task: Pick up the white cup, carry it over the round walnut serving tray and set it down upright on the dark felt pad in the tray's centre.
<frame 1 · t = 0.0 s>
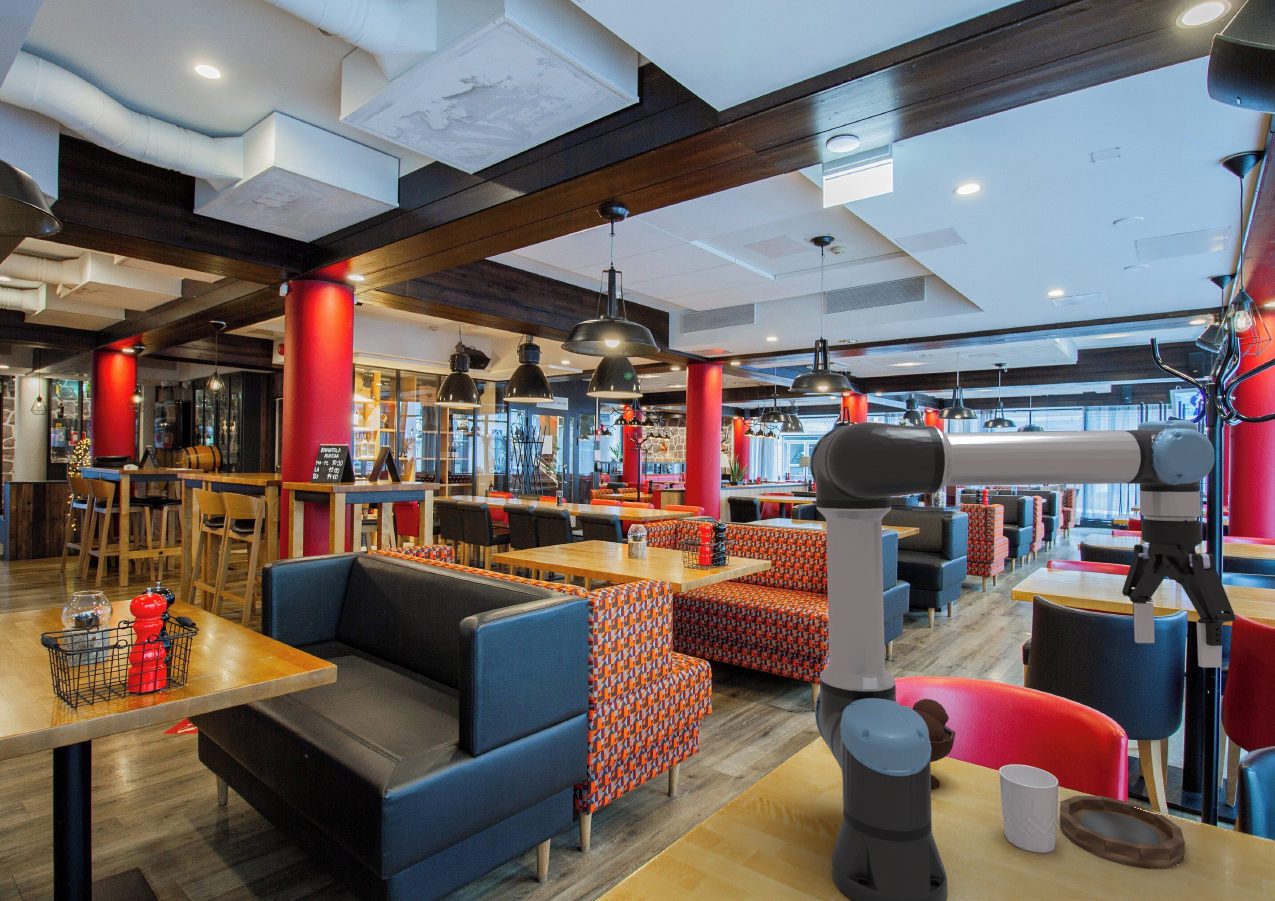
hand: (1175, 653, 105), 28 cm above the table, fingers open, 13 cm apart
white cup: (1029, 842, 103), on the table
ice cream bowl: (924, 783, 123), on the table
tray: (1119, 838, 104), on the table
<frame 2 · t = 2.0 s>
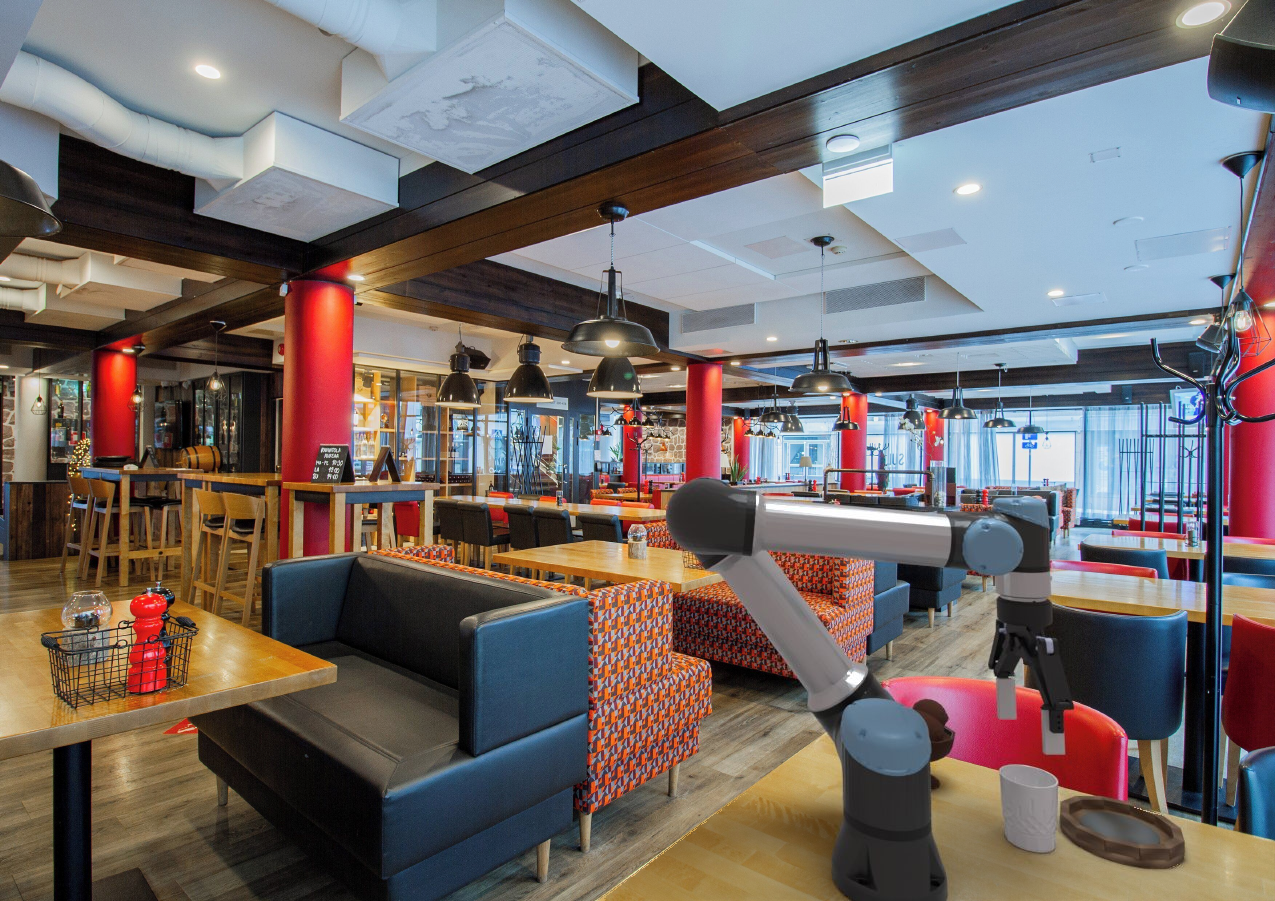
hand: (1028, 734, 104), 16 cm above the table, fingers open, 13 cm apart
nothing on the table moved.
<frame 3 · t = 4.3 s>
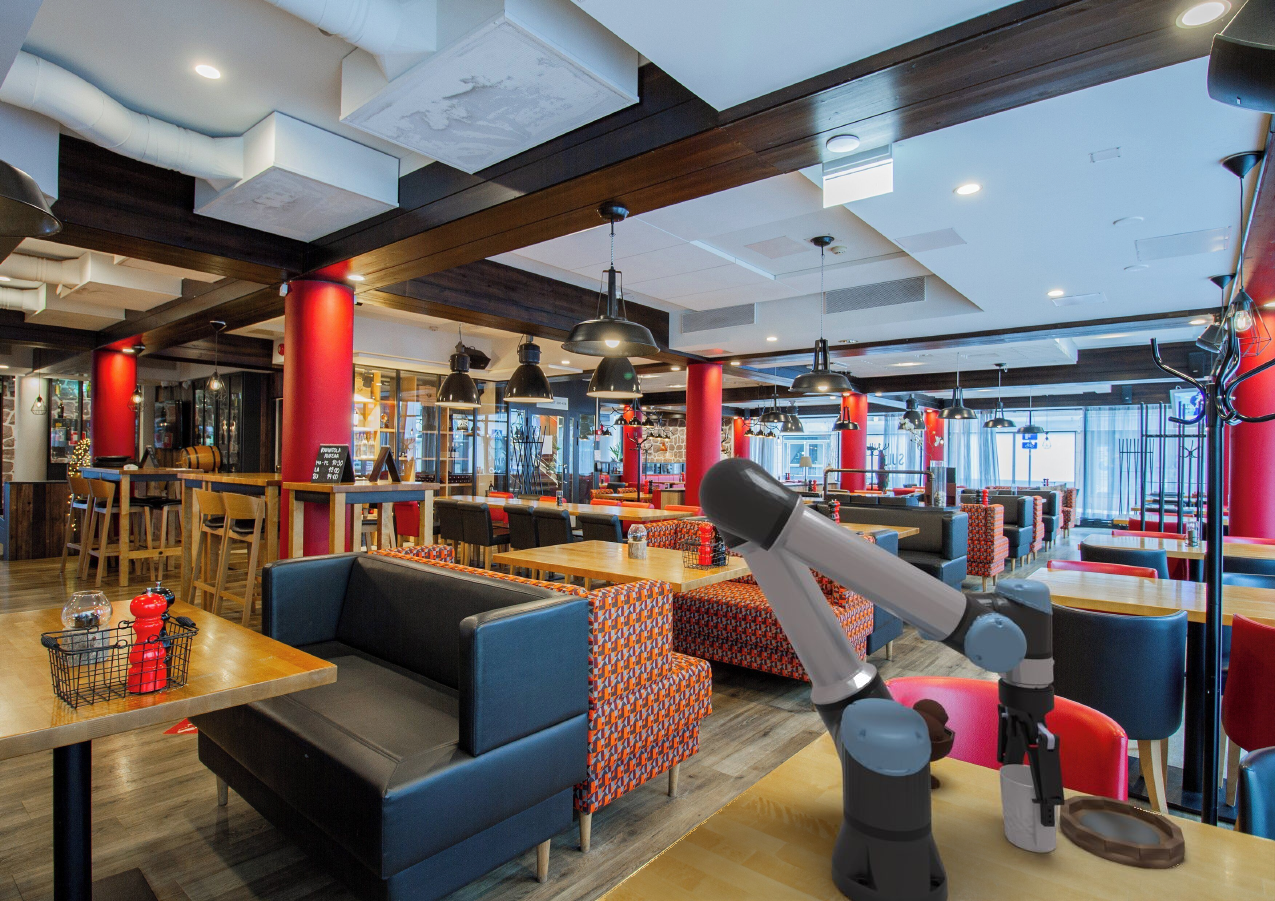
hand: (1029, 829, 103), 2 cm above the table, fingers closed on white cup, 8 cm apart
white cup: (1030, 842, 103), on the table, touching gripper
everything else where it was.
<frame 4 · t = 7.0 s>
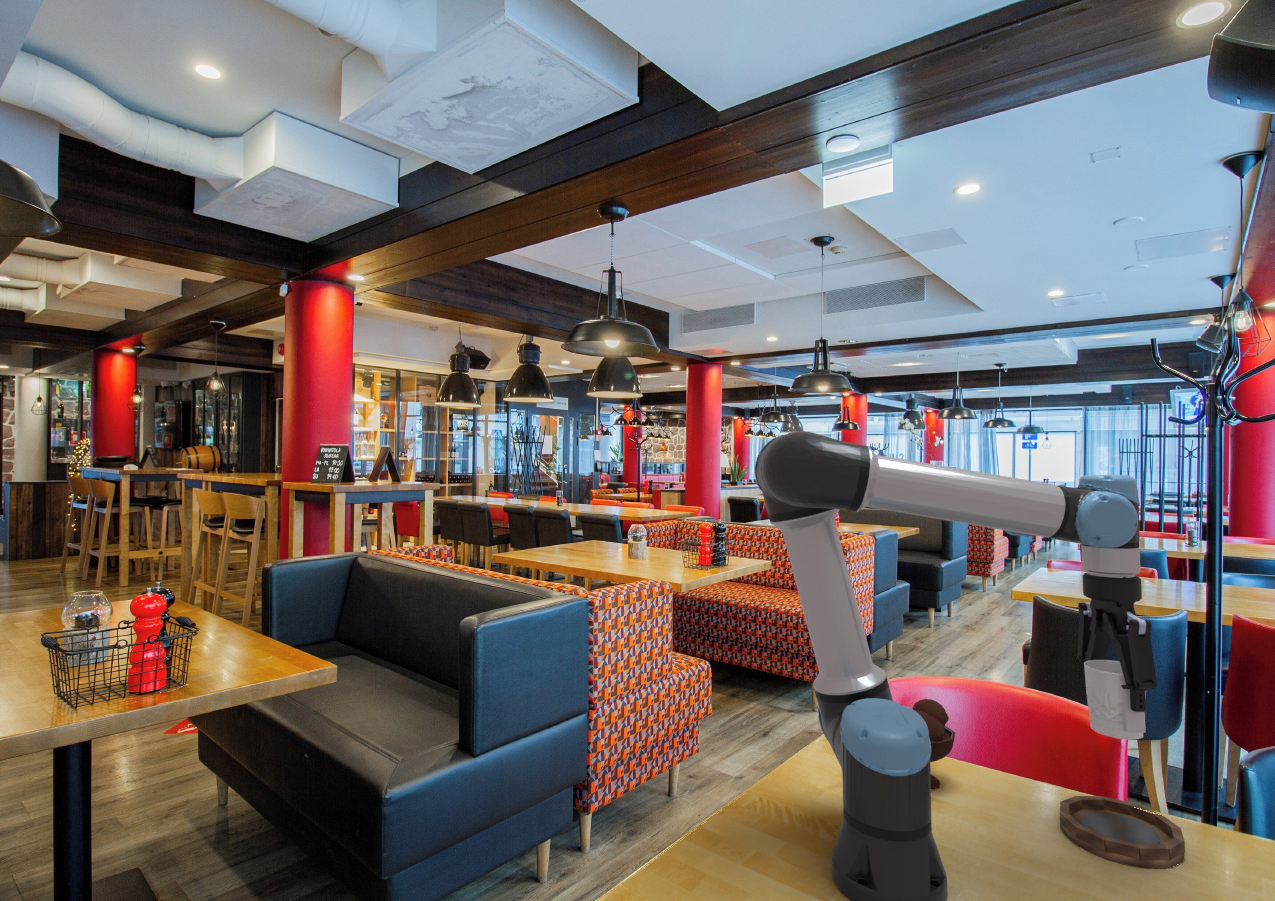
hand: (1115, 720, 104), 18 cm above the table, fingers closed on white cup, 8 cm apart
white cup: (1116, 732, 104), point 16 cm above the table, touching gripper
everything else where it was.
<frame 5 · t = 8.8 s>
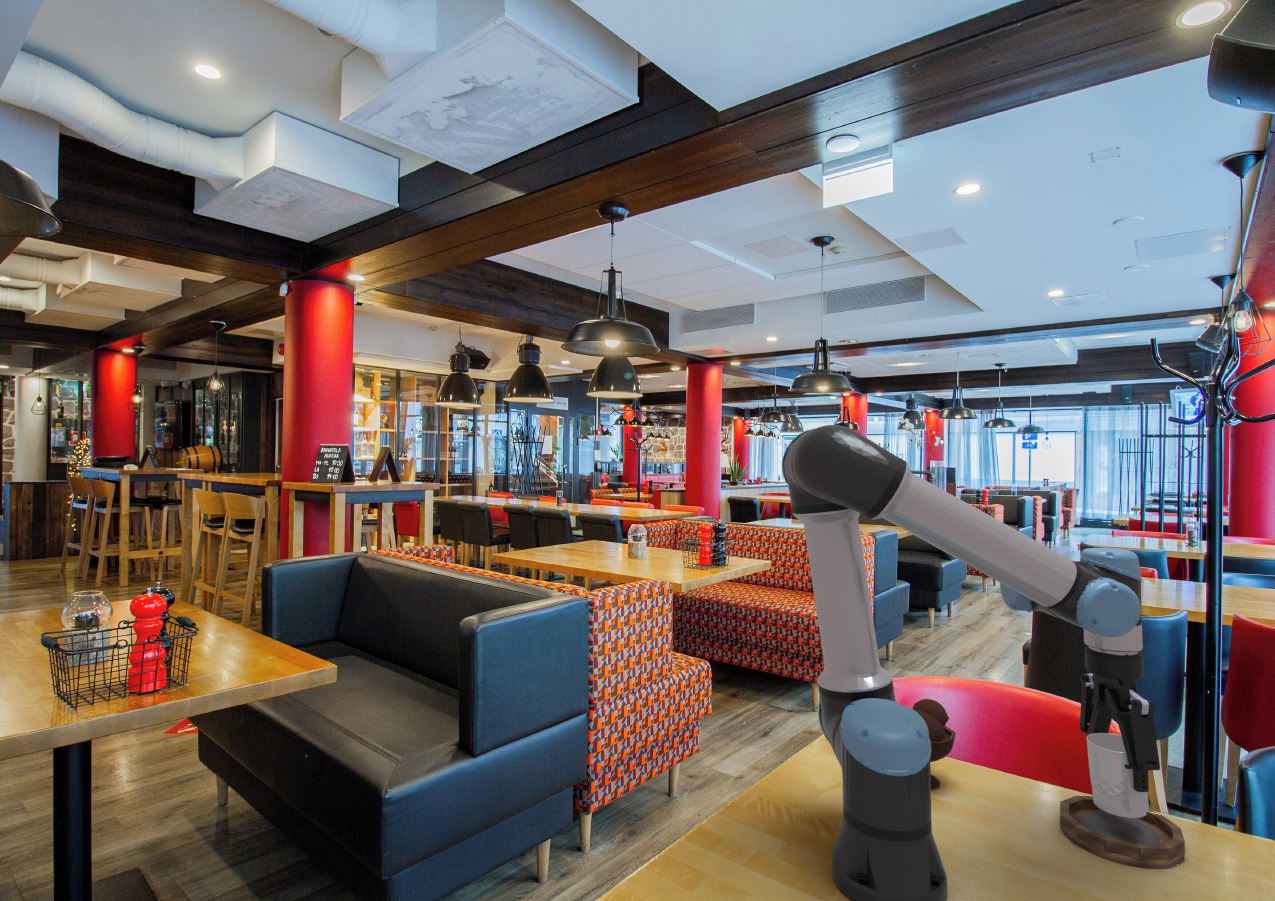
hand: (1118, 796, 104), 6 cm above the table, fingers closed on white cup, 8 cm apart
white cup: (1119, 808, 104), point 5 cm above the table, touching gripper
everything else where it was.
when the fingers open (4 cm above the table, at t = 10.2 s): white cup moves 2 cm, resting on tray.
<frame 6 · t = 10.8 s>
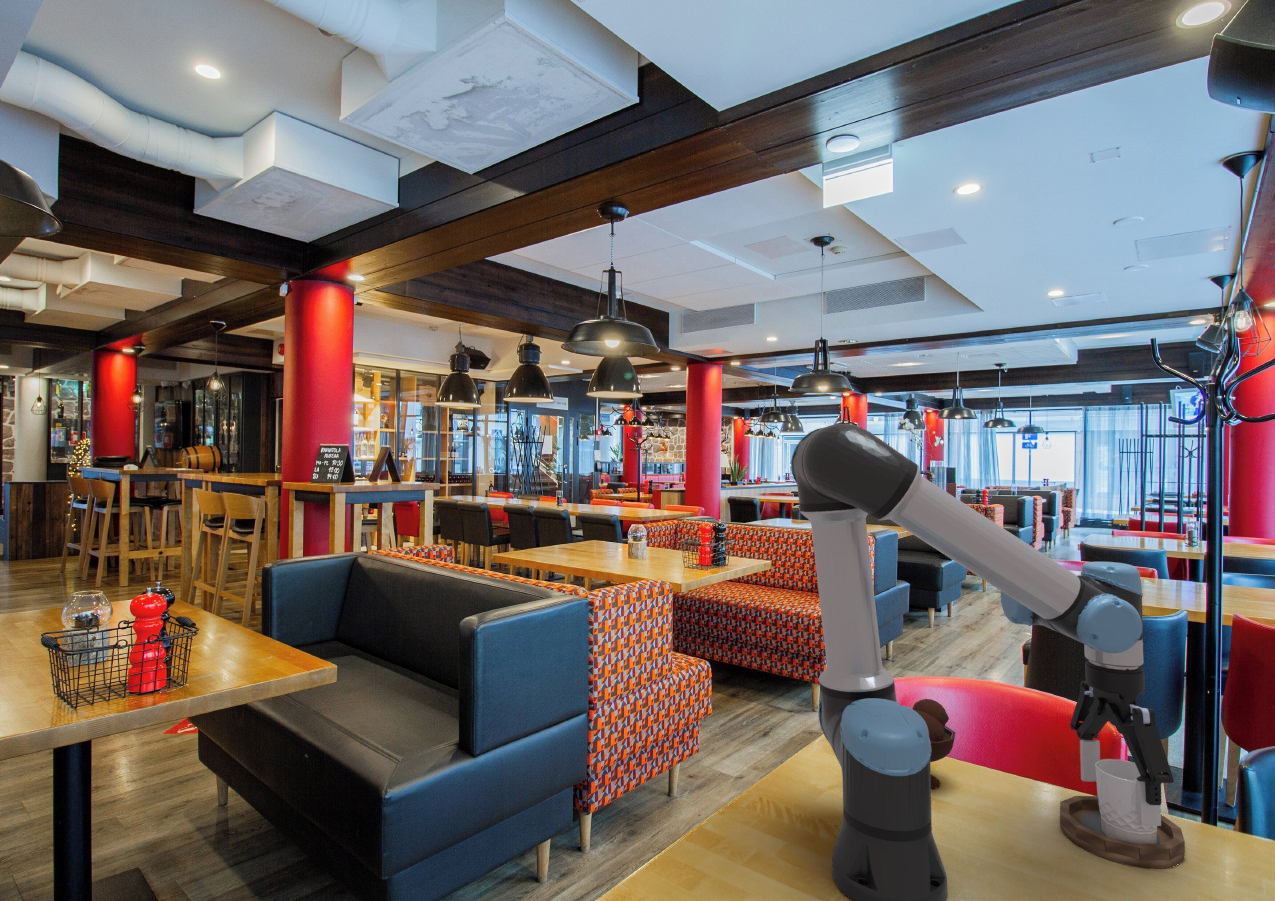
hand: (1118, 801, 104), 6 cm above the table, fingers open, 13 cm apart
white cup: (1128, 838, 101), point 1 cm above the table, touching tray
everything else where it was.
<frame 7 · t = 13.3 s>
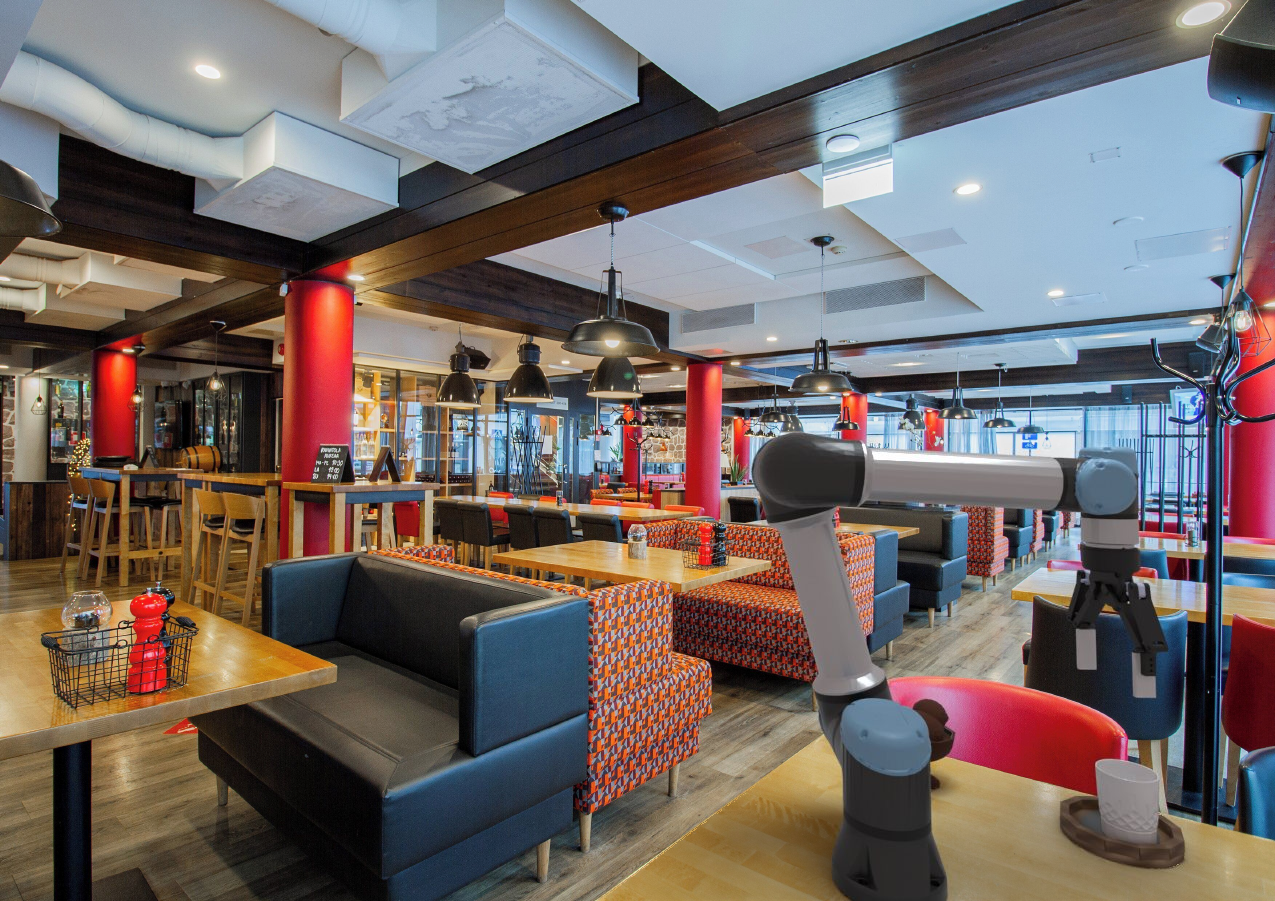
hand: (1113, 682, 104), 24 cm above the table, fingers open, 13 cm apart
nothing on the table moved.
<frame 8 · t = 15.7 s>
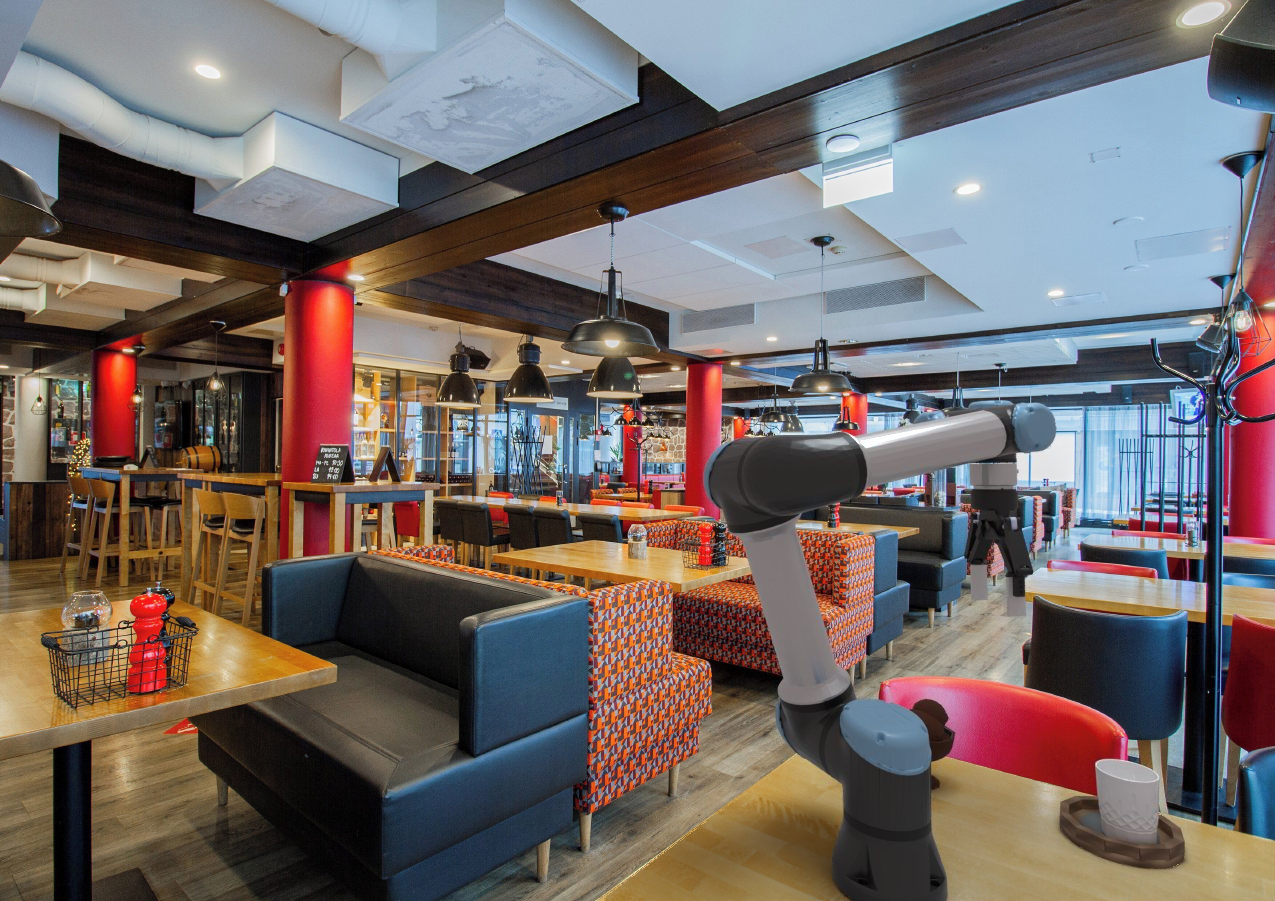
hand: (996, 607, 119), 33 cm above the table, fingers open, 13 cm apart
nothing on the table moved.
at the end: white cup 2.3 cm from the tray (horizontally); white cup tilted 0°; white cup point 1.3 cm above the table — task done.
